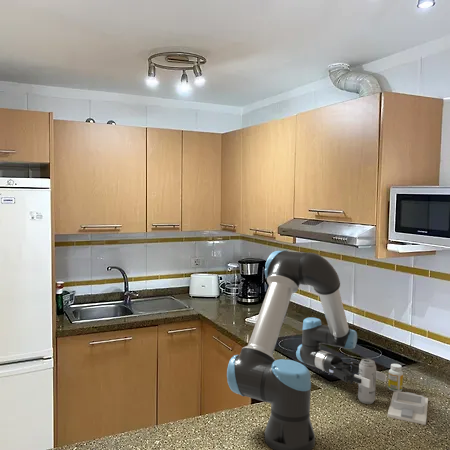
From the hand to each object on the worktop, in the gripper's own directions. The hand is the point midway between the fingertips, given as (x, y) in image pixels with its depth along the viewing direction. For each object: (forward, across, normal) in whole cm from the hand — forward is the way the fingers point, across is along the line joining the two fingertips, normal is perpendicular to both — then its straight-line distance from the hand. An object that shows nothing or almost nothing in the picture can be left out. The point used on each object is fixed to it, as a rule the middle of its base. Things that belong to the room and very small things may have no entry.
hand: (377, 381), depth 159 cm
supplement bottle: (-5, -19, -9) cm, 21 cm away
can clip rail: (+8, -8, -9) cm, 14 cm away
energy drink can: (-5, 0, -9) cm, 10 cm away
